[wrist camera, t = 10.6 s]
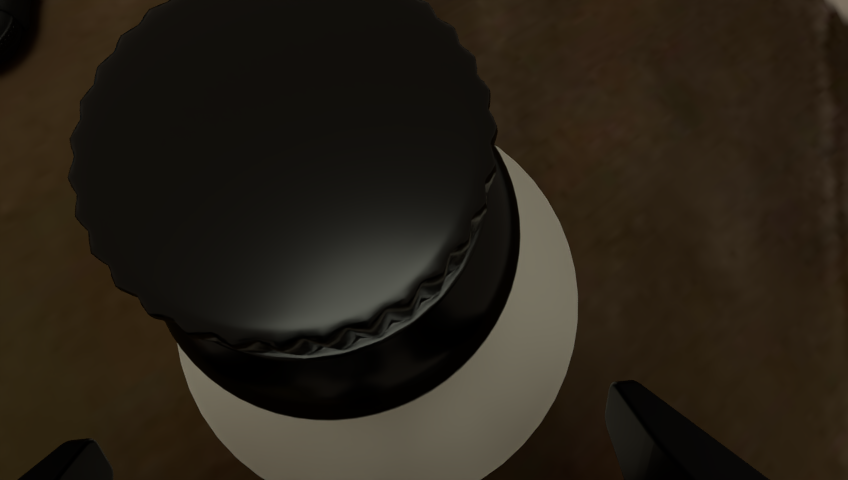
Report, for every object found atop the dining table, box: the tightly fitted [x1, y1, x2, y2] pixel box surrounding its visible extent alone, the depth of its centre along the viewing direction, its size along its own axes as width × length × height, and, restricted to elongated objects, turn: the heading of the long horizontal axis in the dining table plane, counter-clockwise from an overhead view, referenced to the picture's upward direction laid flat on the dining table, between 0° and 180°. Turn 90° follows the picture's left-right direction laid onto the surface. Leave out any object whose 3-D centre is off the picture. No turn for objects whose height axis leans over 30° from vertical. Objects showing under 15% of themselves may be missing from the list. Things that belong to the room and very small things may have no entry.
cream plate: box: [177, 146, 578, 480], centre depth 18 cm, size 14×14×1 cm
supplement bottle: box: [68, 0, 521, 421], centre depth 11 cm, size 7×7×12 cm
